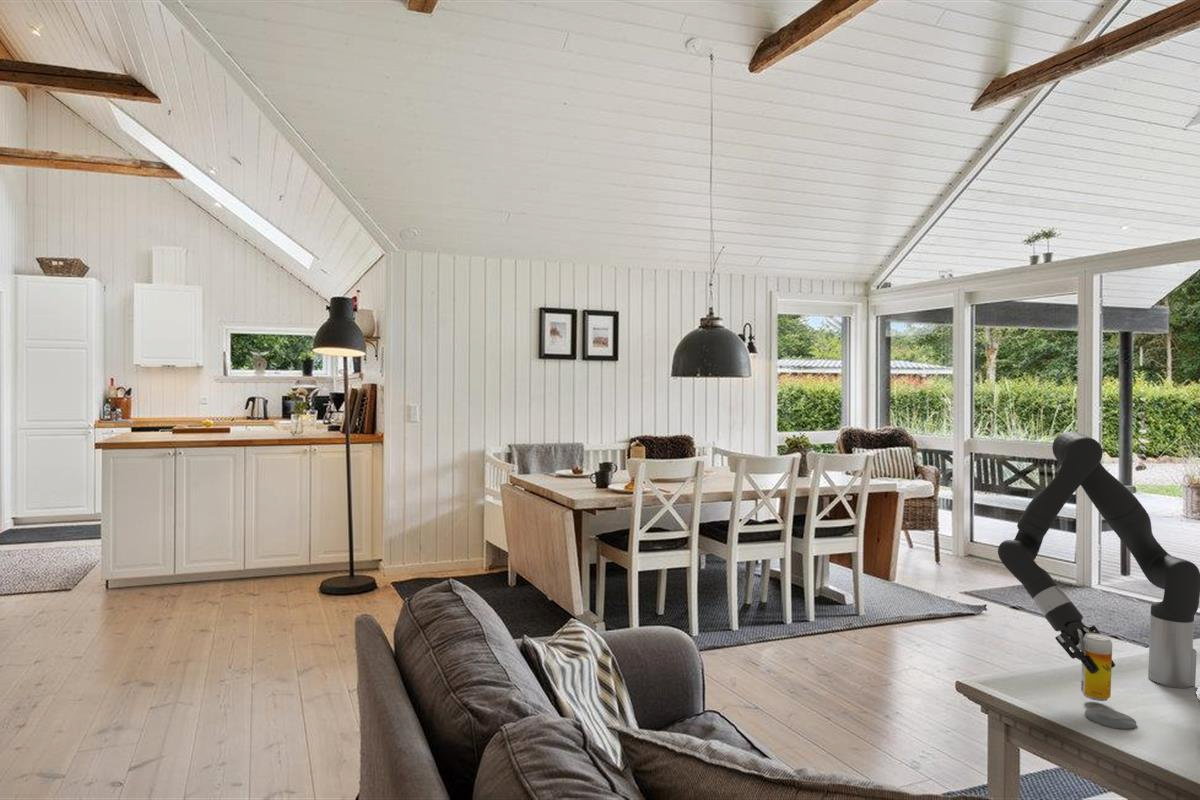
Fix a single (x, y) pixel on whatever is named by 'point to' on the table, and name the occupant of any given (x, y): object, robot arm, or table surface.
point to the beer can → (1101, 654)
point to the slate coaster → (1110, 718)
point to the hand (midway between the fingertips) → (1103, 669)
